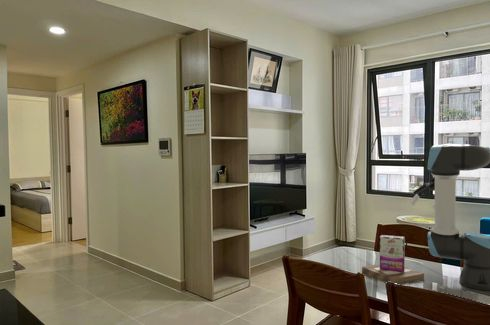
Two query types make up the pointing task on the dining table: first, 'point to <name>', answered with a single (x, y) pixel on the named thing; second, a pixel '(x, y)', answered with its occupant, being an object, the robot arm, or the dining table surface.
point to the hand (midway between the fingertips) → (422, 205)
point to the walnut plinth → (393, 274)
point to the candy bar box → (392, 253)
